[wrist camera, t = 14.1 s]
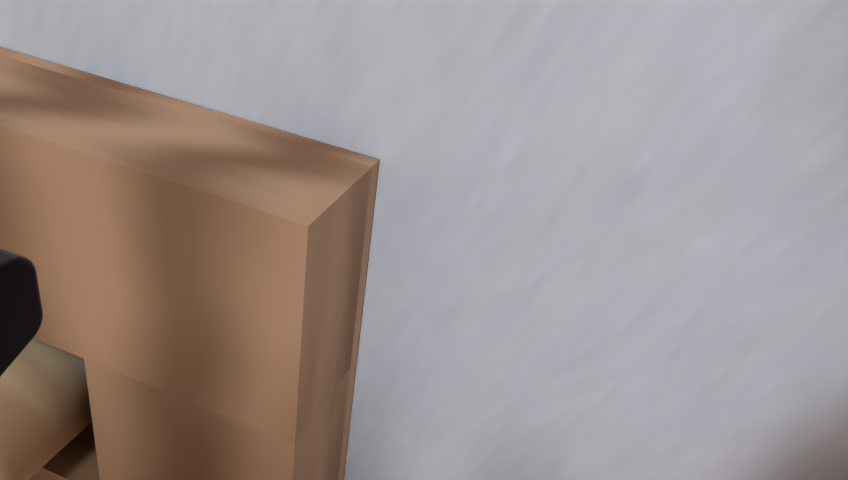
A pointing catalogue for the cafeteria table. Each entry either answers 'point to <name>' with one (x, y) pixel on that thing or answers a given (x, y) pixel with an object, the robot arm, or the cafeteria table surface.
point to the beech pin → (40, 408)
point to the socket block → (187, 276)
